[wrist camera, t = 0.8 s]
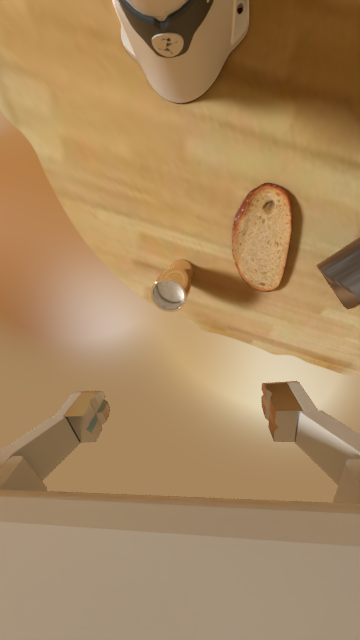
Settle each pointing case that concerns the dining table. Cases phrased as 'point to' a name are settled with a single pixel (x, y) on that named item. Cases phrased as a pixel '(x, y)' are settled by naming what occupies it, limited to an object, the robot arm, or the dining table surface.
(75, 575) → the robot arm
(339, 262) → the stand
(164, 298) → the beer glass
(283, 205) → the bread slice
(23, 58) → the dining table surface
